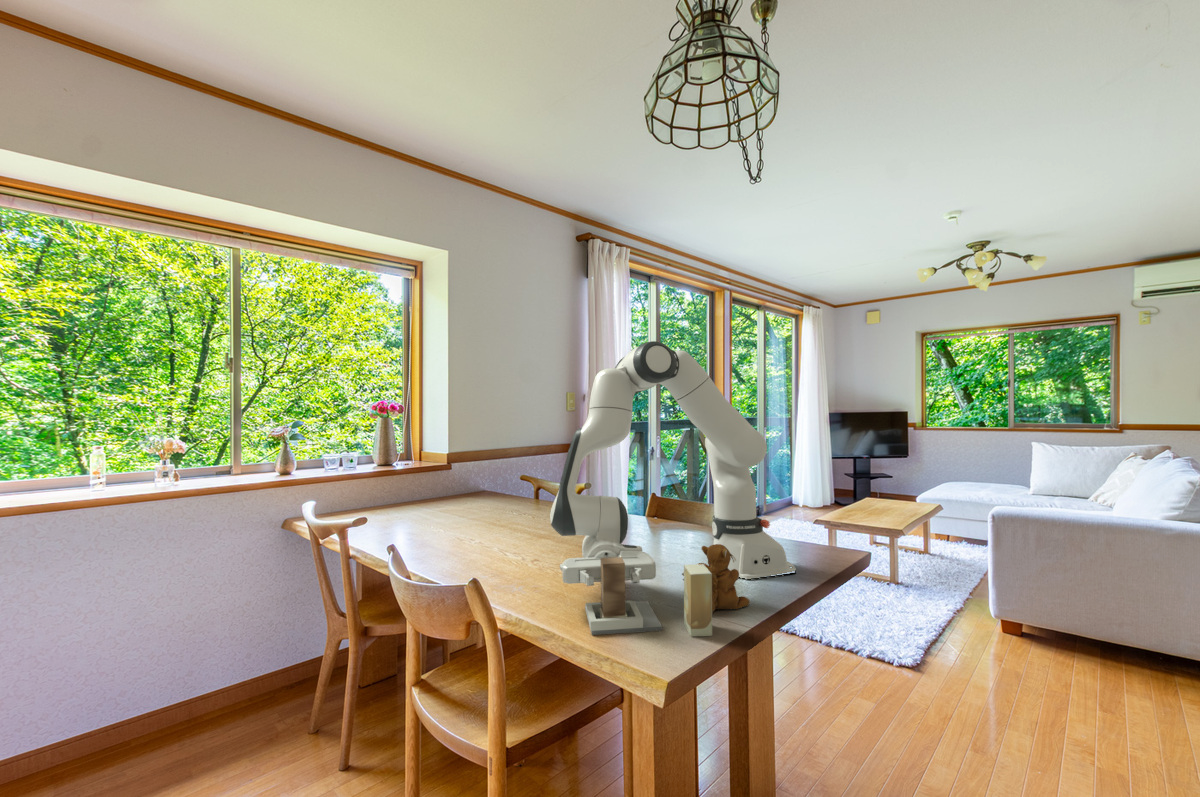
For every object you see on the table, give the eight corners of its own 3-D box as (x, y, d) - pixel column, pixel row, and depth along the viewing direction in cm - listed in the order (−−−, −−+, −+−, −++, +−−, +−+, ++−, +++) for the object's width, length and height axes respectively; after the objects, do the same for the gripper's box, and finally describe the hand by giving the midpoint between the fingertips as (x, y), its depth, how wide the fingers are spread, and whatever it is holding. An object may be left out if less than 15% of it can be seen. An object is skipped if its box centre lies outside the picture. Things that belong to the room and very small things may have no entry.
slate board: (647, 604, 121) (647, 593, 121) (662, 630, 107) (661, 617, 107) (584, 608, 119) (584, 596, 119) (590, 635, 105) (590, 621, 105)
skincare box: (683, 624, 110) (682, 563, 110) (704, 623, 110) (703, 563, 110) (690, 637, 104) (690, 573, 104) (713, 636, 104) (712, 572, 104)
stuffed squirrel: (752, 605, 120) (751, 545, 120) (711, 621, 111) (710, 557, 112) (717, 593, 128) (716, 537, 128) (675, 607, 119) (674, 547, 119)
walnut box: (623, 614, 114) (622, 556, 114) (627, 623, 109) (626, 563, 109) (599, 615, 113) (598, 557, 113) (602, 624, 108) (601, 564, 108)
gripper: (559, 549, 123) (562, 567, 109) (647, 545, 125) (661, 562, 111) (559, 577, 123) (562, 599, 109) (648, 573, 125) (662, 593, 111)
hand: (613, 580), depth 110 cm, fingers open, 8 cm apart
